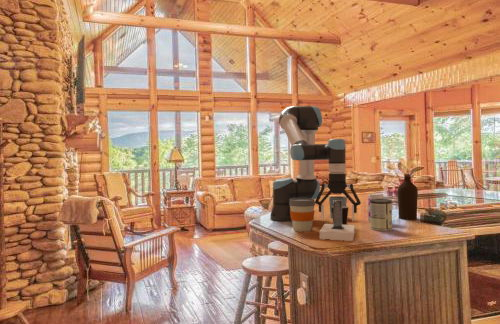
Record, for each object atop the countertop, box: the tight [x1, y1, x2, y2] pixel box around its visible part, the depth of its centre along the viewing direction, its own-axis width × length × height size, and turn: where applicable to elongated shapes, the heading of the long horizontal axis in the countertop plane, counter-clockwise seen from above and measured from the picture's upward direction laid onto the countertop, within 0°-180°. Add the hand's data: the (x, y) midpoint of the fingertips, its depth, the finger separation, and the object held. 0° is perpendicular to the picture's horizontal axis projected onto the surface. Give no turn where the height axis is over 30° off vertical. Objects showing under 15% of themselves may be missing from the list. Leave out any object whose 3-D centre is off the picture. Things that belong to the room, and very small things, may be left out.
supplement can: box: [367, 193, 385, 223], centre depth 203 cm, size 8×8×15 cm
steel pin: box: [332, 200, 342, 229], centre depth 170 cm, size 4×4×16 cm
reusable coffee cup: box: [289, 198, 316, 232], centre depth 185 cm, size 12×13×15 cm
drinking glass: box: [328, 196, 348, 219], centre depth 218 cm, size 10×10×12 cm
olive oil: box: [396, 173, 419, 221], centre depth 212 cm, size 11×11×25 cm
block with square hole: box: [319, 223, 356, 242], centre depth 170 cm, size 18×14×4 cm
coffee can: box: [369, 198, 393, 232], centre depth 184 cm, size 10×10×14 cm
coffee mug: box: [331, 205, 349, 225], centre depth 193 cm, size 12×9×10 cm
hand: (337, 219), depth 170 cm, fingers open, 13 cm apart
